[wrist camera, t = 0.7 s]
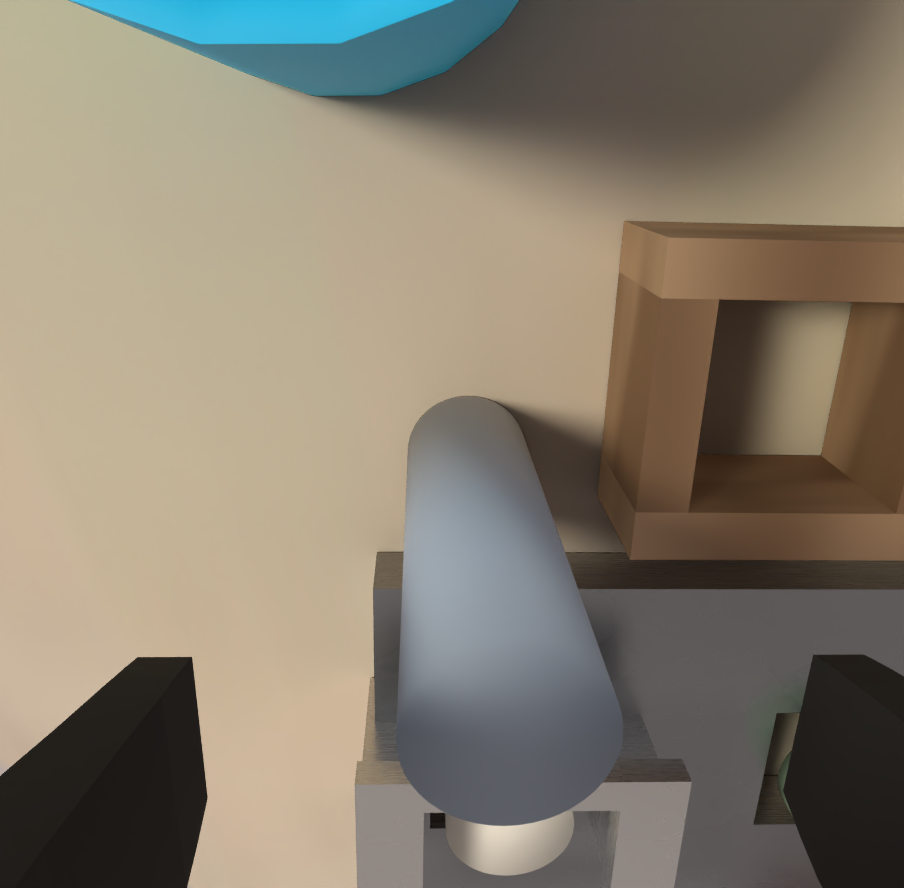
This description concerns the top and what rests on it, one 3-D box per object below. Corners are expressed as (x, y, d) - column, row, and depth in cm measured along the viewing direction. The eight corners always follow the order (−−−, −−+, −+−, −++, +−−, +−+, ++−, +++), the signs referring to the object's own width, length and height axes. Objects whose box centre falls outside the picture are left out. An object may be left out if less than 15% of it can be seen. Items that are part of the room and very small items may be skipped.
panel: (965, 554, 19) (1126, 675, 14) (874, 866, 22) (983, 1037, 18) (368, 552, 18) (352, 678, 14) (373, 873, 22) (361, 1053, 17)
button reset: (566, 727, 18) (579, 776, 17) (558, 821, 19) (569, 875, 18) (444, 728, 18) (447, 777, 17) (442, 822, 19) (444, 876, 18)
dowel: (528, 396, 17) (634, 643, 9) (521, 505, 18) (612, 824, 9) (408, 395, 17) (395, 642, 8) (407, 504, 18) (395, 827, 9)
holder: (915, 227, 16) (1021, 245, 13) (855, 496, 18) (934, 560, 15) (624, 221, 16) (667, 237, 13) (597, 494, 18) (630, 559, 15)
